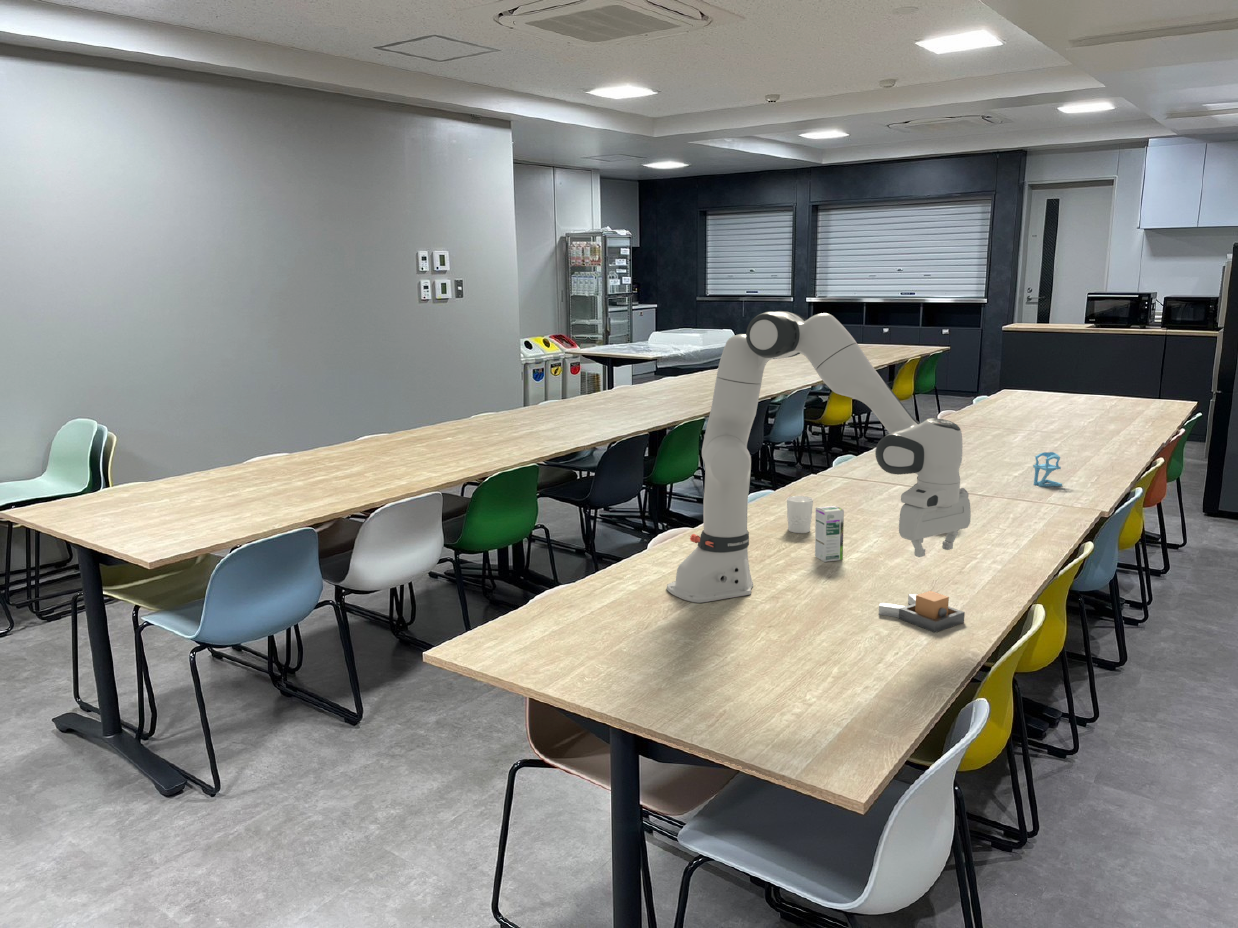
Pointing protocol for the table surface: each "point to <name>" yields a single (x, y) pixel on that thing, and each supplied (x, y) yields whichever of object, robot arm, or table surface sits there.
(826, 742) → the table surface
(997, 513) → the table surface
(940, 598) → the block
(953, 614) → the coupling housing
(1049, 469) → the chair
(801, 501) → the white cup
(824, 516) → the syrup box
